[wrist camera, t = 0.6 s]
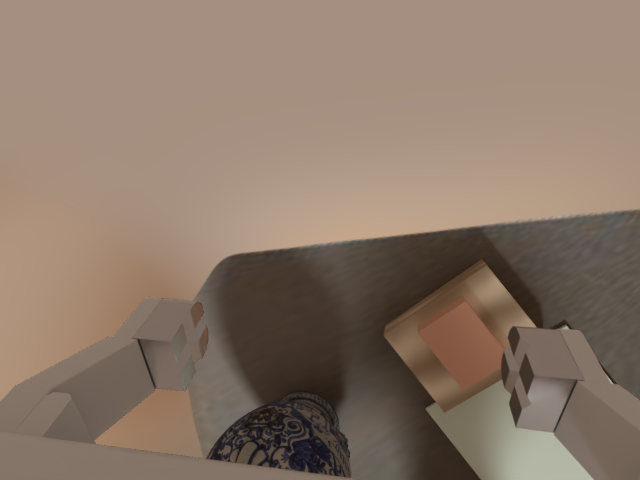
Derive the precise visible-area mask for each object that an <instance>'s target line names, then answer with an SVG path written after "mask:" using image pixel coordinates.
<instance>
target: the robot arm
mask: <svg viewBox="0 0 640 480" xmlns="http://www.w3.org/2000/svg"><path fill="white" fill-rule="evenodd" d="M203 314H204V311H203V307H202V304H201V303H200V302H198V301H188V300H178V299H169V298H165V299H164V298H155V297H147V298H145V299H143V300H142V302H141V303H140V304H139V305H138V307H137V308H136V309H135V310H134V312H133V313H132V314H131V315H130V317H129V318H128V319H127V320H126V322H125V323H124V324H123V325H122V327H121V328H120V329H119V330H118V332H117V333H116V334H115V335H114V337H106V338H105V339H103V340H101V341H99V342H97V343H95V344H93V345H91V346H89V347H88V348H86V349H84V350H82V351H80V352H78V353H76V354H74V355H73V356H71V357H69V358H67V359H65V360H63V361H61V362H59V363H58V364H56V365H54V366H52V367H50V368H48V369H46V370H44V371H42V372H41V373H39V374H37V375H35V376H33V377H31V378H29V379H27V380H25V381H24V382H22V383H20V384H18V385H16V386H15V387H14V388H13V389H12V390H11V391H10V392H9V393H8V394H7V395H6V396H5V397H4V398H3V400H2V401H1V402H0V480H361V479H354V478H346V477H339V476H331V475H324V474H316V473H308V472H301V471H293V470H286V469H278V468H271V467H263V466H256V465H248V464H241V463H233V462H226V461H219V460H211V459H204V458H196V457H189V456H182V455H173V454H167V453H159V452H152V451H144V450H136V449H129V448H121V447H114V446H106V445H99V444H96V443H95V441H94V440H95V439H97V438H98V437H99V436H100V435H101V434H102V433H104V432H105V431H106V430H107V429H109V428H110V427H111V426H112V425H114V424H115V423H116V422H117V421H119V420H120V419H121V418H122V417H123V416H125V415H126V414H127V413H128V412H130V411H131V410H132V409H133V408H134V407H136V406H137V405H138V404H139V403H141V402H142V401H143V400H144V399H145V398H147V397H148V396H149V395H150V394H151V393H153V392H154V391H155V389H163V390H175V391H186V389H187V387H188V385H189V383H190V381H191V379H192V377H193V375H194V373H195V367H194V364H195V363H196V362H198V361H199V360H201V359H202V358H203V356H204V353H205V351H206V348H207V344H208V328H207V325H206V324H205V323H204V322H203V321H202V320H201V317H202V316H203ZM508 341H509V344H510V346H509V347H508V348H507V349H505V350H504V352H503V356H502V360H501V375H502V381H503V385H504V388H505V389H506V390H507V391H508V392H509V393H510V394H511V398H510V401H509V406H510V410H511V413H512V416H513V420H514V423H515V427H516V428H521V429H529V430H536V431H543V432H551V433H554V436H555V437H556V438H557V439H558V440H559V441H560V442H561V443H562V445H563V446H564V447H565V448H566V449H567V450H568V451H569V452H570V453H571V455H572V456H573V457H574V458H575V459H576V460H577V461H578V462H579V464H580V465H581V466H582V467H583V468H584V469H585V470H586V471H587V472H588V474H589V475H590V476H591V477H592V478H593V479H594V480H640V400H639V399H637V398H636V397H635V396H633V395H632V394H630V393H629V392H628V391H626V390H625V389H623V388H622V387H621V386H619V385H618V384H611V383H610V381H609V380H608V378H607V376H606V374H605V372H604V371H603V369H602V367H601V365H600V364H599V362H598V360H597V358H596V356H595V355H594V353H593V351H592V349H591V348H590V346H589V344H588V342H587V341H586V339H585V337H584V335H583V333H582V332H580V331H579V330H569V329H548V328H534V327H520V326H512V328H511V329H510V331H509V334H508Z"/></svg>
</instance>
